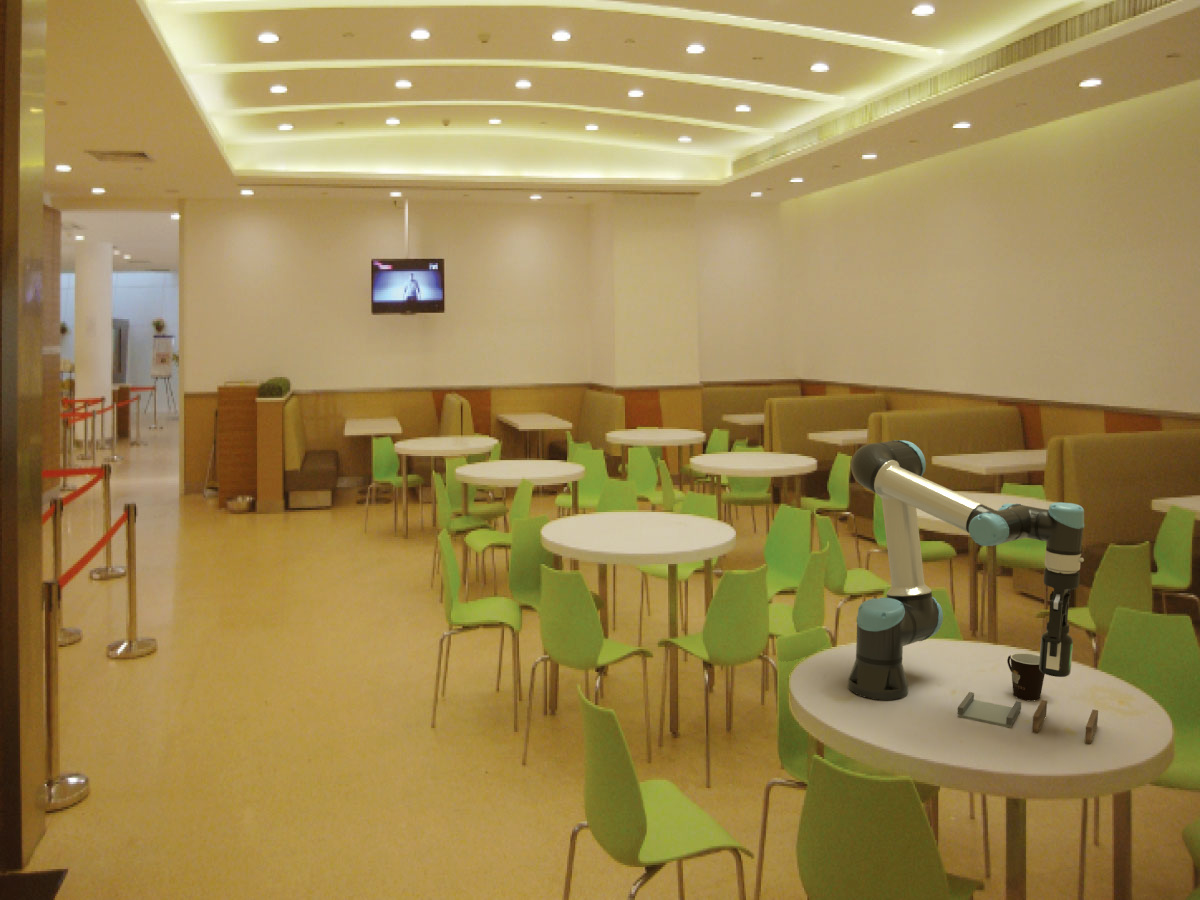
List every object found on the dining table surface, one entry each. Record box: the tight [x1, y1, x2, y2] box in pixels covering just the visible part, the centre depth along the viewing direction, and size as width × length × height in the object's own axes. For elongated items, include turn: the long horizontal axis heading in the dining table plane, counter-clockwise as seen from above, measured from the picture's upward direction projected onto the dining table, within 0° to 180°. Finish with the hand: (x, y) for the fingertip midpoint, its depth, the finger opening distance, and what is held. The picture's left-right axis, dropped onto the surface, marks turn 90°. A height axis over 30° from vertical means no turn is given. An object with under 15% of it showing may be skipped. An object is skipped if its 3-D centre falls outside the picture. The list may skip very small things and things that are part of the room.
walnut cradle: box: [1031, 699, 1099, 745], centre depth 232 cm, size 12×12×4 cm
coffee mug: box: [1006, 652, 1046, 702], centre depth 254 cm, size 12×9×10 cm
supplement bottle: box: [1039, 620, 1074, 678], centre depth 231 cm, size 7×7×12 cm
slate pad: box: [957, 691, 1022, 729], centre depth 241 cm, size 12×12×2 cm
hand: (1054, 663), depth 232 cm, fingers closed on supplement bottle, 7 cm apart
